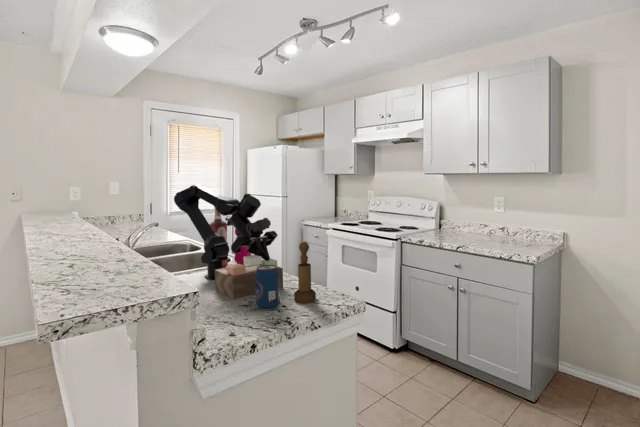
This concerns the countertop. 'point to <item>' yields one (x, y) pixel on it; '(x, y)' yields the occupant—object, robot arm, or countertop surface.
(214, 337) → the countertop surface
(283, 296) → the countertop surface
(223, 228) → the liquor
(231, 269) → the terracotta key
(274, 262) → the sage key
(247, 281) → the keypad console
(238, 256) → the pepper mill
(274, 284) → the soda can
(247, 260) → the cream key
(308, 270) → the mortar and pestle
